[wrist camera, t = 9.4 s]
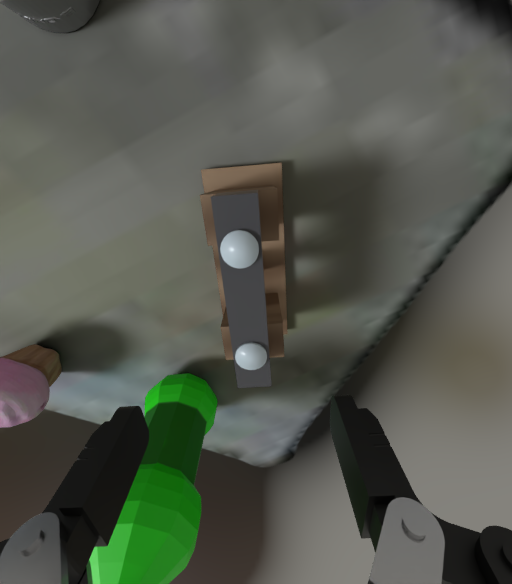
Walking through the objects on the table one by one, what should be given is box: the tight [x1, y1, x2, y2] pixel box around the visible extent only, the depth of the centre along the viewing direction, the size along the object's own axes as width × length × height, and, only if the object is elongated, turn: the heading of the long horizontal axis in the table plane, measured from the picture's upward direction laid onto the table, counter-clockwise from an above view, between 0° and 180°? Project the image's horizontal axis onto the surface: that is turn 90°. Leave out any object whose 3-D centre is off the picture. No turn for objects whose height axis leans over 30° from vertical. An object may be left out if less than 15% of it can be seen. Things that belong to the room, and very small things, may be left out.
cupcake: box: [0, 345, 62, 428], centre depth 32 cm, size 9×9×10 cm
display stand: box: [200, 163, 287, 360], centre depth 27 cm, size 20×8×8 cm, turn 5°
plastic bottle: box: [89, 373, 218, 584], centre depth 27 cm, size 10×10×25 cm
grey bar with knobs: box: [211, 190, 271, 388], centre depth 21 cm, size 16×3×4 cm, turn 5°
